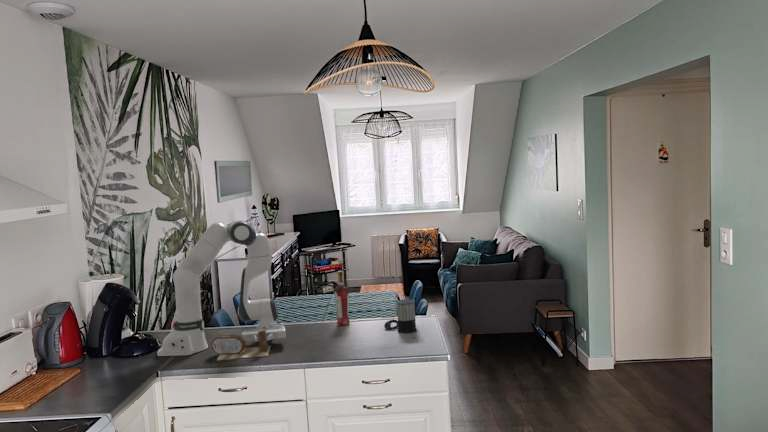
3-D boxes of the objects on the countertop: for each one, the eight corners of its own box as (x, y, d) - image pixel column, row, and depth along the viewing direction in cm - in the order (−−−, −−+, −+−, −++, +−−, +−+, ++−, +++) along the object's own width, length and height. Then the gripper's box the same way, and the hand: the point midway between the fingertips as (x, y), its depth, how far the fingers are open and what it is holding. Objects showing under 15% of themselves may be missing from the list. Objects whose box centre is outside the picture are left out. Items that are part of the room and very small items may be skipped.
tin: (246, 352, 260) (244, 334, 259) (243, 354, 257) (242, 336, 256) (214, 353, 261) (212, 335, 261) (211, 355, 258) (209, 337, 258)
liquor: (334, 324, 300) (330, 271, 297) (347, 321, 303) (343, 269, 301) (339, 327, 293) (336, 273, 291) (352, 324, 297) (349, 271, 294)
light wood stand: (216, 360, 252) (215, 338, 251) (222, 350, 266) (220, 329, 265) (267, 355, 254) (266, 334, 253) (270, 346, 268) (269, 325, 267)
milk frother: (416, 333, 275) (415, 302, 274) (384, 335, 275) (382, 304, 274) (416, 325, 289) (414, 296, 288) (384, 326, 290) (382, 297, 288)
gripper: (242, 326, 272) (238, 334, 258) (286, 322, 274) (284, 330, 260) (243, 339, 272) (239, 348, 259) (287, 335, 274) (285, 344, 261)
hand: (262, 339), depth 259 cm, fingers open, 4 cm apart
